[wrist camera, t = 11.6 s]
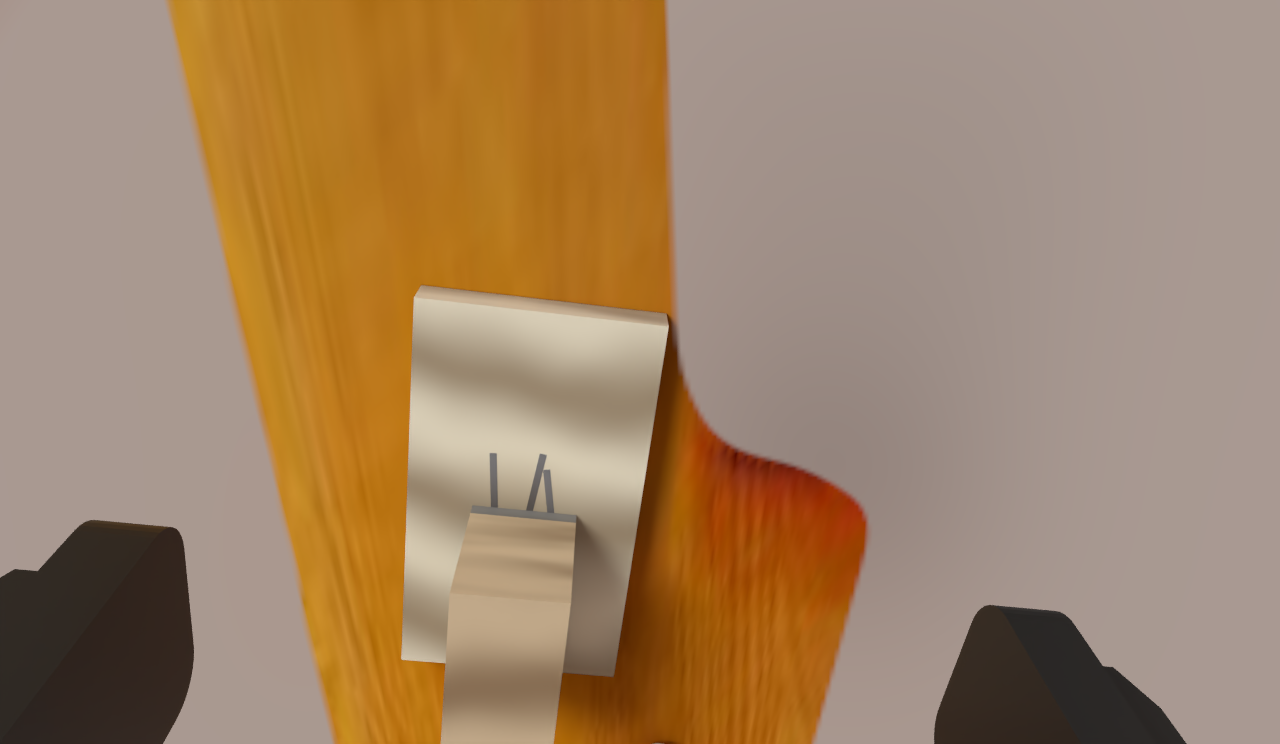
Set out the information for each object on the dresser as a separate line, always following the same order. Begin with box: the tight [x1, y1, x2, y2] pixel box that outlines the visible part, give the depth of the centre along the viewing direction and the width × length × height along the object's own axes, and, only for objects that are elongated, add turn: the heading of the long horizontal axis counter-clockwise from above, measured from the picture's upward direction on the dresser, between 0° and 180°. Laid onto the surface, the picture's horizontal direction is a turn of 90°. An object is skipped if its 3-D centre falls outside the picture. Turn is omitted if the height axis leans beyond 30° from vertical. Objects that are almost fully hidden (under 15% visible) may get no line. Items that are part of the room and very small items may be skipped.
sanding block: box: [441, 505, 576, 744], centre depth 37 cm, size 8×4×6 cm, turn 173°
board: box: [402, 285, 669, 677], centre depth 39 cm, size 18×10×2 cm, turn 172°
